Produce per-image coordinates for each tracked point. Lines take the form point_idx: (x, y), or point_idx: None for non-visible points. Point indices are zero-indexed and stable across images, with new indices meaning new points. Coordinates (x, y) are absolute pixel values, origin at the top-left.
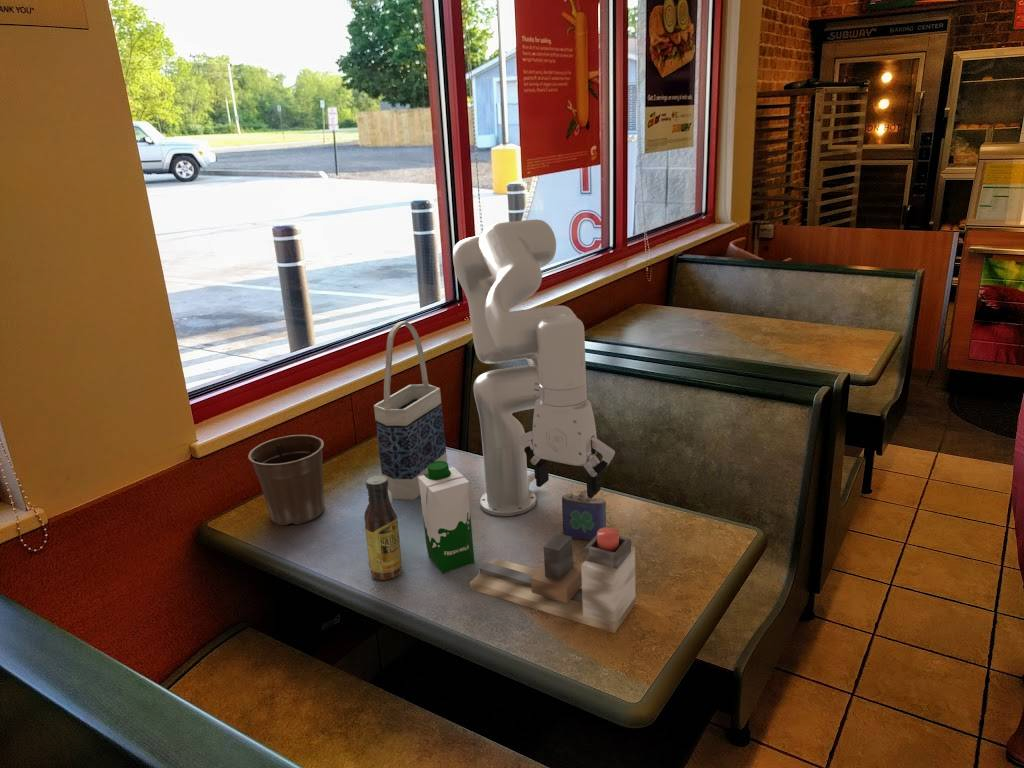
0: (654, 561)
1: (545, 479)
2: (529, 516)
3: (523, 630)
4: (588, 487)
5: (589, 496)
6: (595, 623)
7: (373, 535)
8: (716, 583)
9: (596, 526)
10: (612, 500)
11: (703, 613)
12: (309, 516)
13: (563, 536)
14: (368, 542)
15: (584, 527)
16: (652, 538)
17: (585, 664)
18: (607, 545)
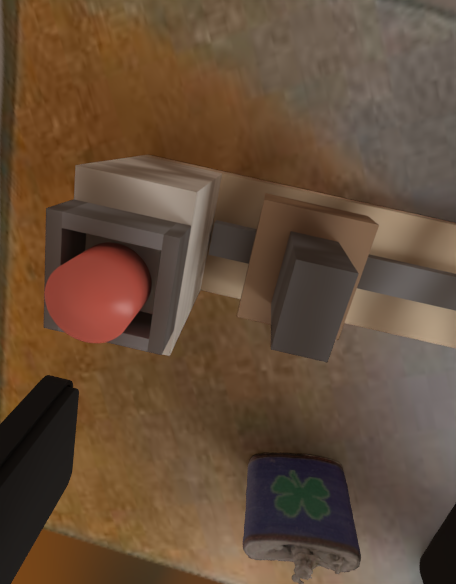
0: (139, 409)
1: (446, 559)
2: (431, 520)
3: (362, 105)
4: (9, 436)
5: (51, 382)
6: (192, 165)
7: None
8: (12, 361)
9: (265, 483)
10: (267, 576)
11: (3, 267)
12: None
13: (300, 347)
14: None
15: (293, 480)
16: (162, 475)
17: (180, 13)
18: (89, 250)
